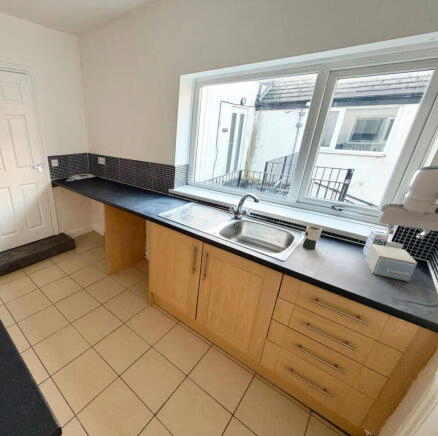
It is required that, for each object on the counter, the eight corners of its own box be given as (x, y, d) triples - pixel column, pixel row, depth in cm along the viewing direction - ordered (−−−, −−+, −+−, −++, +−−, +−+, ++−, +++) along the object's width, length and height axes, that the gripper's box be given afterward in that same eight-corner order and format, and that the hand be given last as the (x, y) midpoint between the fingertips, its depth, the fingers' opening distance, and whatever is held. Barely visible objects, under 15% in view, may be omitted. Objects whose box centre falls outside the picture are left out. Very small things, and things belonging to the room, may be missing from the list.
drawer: (412, 286, 104) (420, 270, 101) (378, 278, 109) (384, 263, 107) (398, 267, 119) (404, 252, 116) (368, 260, 124) (373, 247, 121)
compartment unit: (408, 281, 109) (417, 263, 105) (372, 273, 115) (379, 255, 111) (397, 266, 121) (405, 249, 117) (365, 260, 127) (371, 243, 123)
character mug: (301, 242, 144) (306, 222, 139) (315, 246, 141) (321, 225, 136) (300, 250, 136) (306, 229, 130) (315, 254, 132) (322, 233, 127)
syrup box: (365, 257, 129) (375, 233, 123) (361, 252, 134) (371, 228, 128) (379, 260, 127) (390, 235, 121) (374, 254, 132) (384, 230, 126)
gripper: (386, 203, 102) (375, 233, 107) (456, 211, 93) (440, 244, 98) (381, 200, 108) (371, 228, 112) (447, 207, 99) (432, 238, 103)
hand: (404, 236), depth 105 cm, fingers open, 8 cm apart
